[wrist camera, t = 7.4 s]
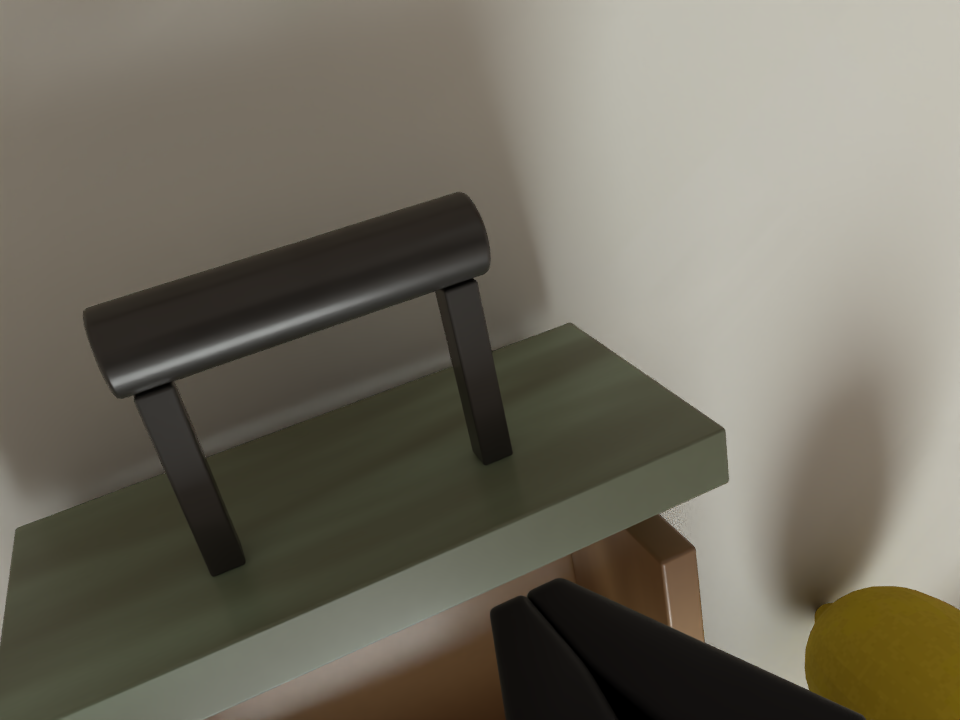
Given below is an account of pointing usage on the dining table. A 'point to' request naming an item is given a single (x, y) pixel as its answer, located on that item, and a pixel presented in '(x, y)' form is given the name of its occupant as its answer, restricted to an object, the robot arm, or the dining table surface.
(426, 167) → the dining table surface
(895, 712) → the lemon
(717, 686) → the robot arm
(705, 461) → the drawer
